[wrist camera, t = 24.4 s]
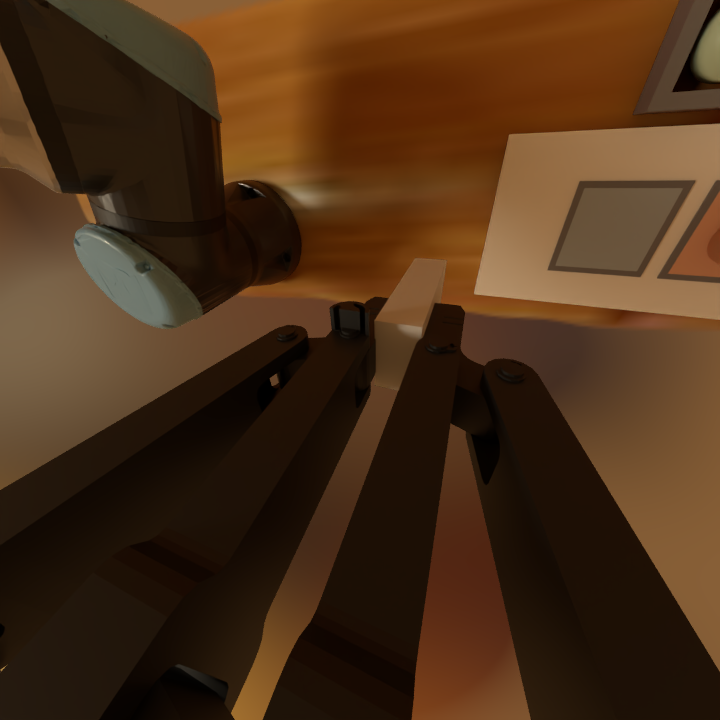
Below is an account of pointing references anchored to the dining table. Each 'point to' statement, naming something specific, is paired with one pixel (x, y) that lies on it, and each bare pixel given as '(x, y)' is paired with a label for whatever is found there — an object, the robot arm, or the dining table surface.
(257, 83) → the dining table surface
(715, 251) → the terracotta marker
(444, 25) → the dining table surface
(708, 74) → the button
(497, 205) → the picture board
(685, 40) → the button base
